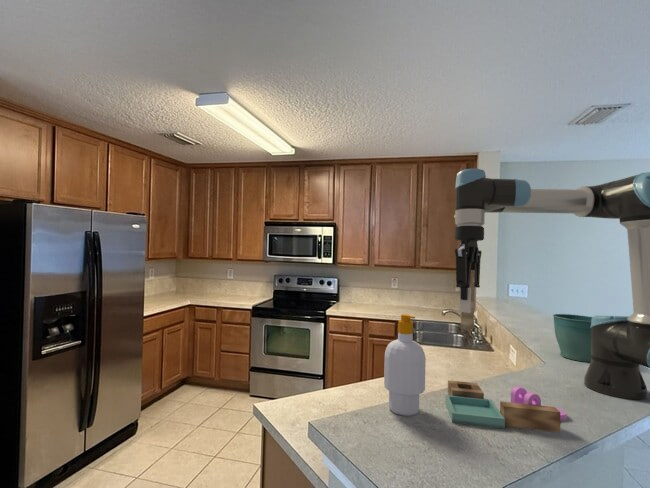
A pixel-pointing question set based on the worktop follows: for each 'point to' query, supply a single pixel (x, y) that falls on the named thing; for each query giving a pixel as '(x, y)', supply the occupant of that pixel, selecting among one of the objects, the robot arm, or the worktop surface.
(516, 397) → the bracket
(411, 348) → the soap bottle
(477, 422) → the tray
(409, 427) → the worktop surface
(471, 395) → the socket block
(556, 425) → the block
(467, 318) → the dowel
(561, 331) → the flower pot
